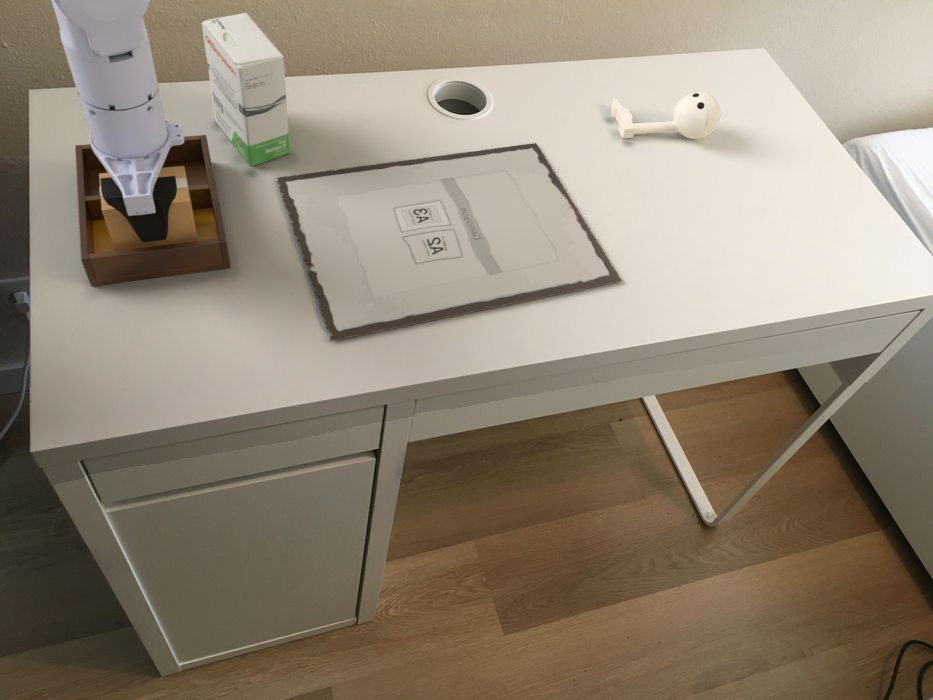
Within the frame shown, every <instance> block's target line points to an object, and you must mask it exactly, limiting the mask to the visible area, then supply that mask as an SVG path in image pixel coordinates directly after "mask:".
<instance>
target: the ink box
mask: <svg viewBox="0 0 933 700" xmlns="http://www.w3.org/2000/svg"><path fill="white" fill-rule="evenodd" d="M201 29H202V35H203V43H204V50H205V56H206V63H207V69H208V78H209V84H210V92H211V98H212V99H211V100H212V107H213V113H214V119H215V120H214V121H215V123H216V124H217V125H218V126H219V128H220V129H221V130H222V131H223V133H224V134H225V135H226V137H227V138H228V139H229V141H230V142H231V143H232V145H234V147H235V148H236V149H237V150H238V152H239V153H240V155H241V156H242V157H243V158H244V160H245V161H246V163H248V165H249V166H252V167H253V166H257V165H259V164H262V163H266V162H269V161H272V160H274V159H277V158H280V157H283V156H285V155H288V154H290V153H291V150H290V149H291V148H290V147H291V146H290V138H289V137H290V136H289V135H290V133H289V119H288V106H287V89H286V85H287V84H286V72H285V71H286V70H285V58H284V56H283V54H282V53H281V51H279V49H278V48H277V47H276V46H275V45H274V43H272V41H271V40H270V38H269V37H267V36H266V34H265V33H264V32H263V30H262V29H261V28H260V27H259V26H258V25H257V23H256V22H255V21H254V20H253V19H252V18H251V17H250V16H249V13H248V12H243V13H237V14H232V15H227V16H221V17H215V18H210V19H207V20H204V21H202V22H201Z"/></svg>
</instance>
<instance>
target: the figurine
mask: <svg viewBox="0 0 933 700" xmlns="http://www.w3.org/2000/svg"><path fill="white" fill-rule="evenodd" d="M610 113H611V118H613V119H615V121H616V123H617V124H618V128H617V131H618V133H619V135H620V138H621V139H633V138H634V135H644V134H657V133H667V132H669V133H670V132H678V133H679V134H680V135H682V136H683V137H684V138H687V139H691V140H699V139H703V138H706V137H708V136H709V135H711V134H712V133H713V132H714V131H715V130H716V128H717V127H718V125H719V123H720V120H721V113H722V112H721V106H720V104H719V102H718V101H717V99H716V98H715V96H713V95H711V94H710V93H708V92H703V91H694V92H691V93H689V94H686V95H685V96H683V97H681V99H679V101H678V102H677V104H676V105H675V107H674V110H673V115H672V121H654V122H652V121H651V122H637V123H634V122H633V117H634V116H633V114H632V113H631V111H630V109H629V108H626V107H624V106H622V104H621V102H620V101H619V100H618V98H617V97H613V99H612V103H611V107H610Z"/></svg>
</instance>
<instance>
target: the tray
mask: <svg viewBox="0 0 933 700" xmlns="http://www.w3.org/2000/svg"><path fill="white" fill-rule="evenodd" d="M207 137H208V136H207V134H200V135H187V136H186V135H184V143H183V144H182V145H176V146H172V147H171V148H170V149H169V152H168V154H167V157H166V159H165V161H164V164H163V166H162V168H166V167H177V166H184V168H185V173H186V178H187V183H188V188H189V194H190V199H191V204H192V209H193V215H194V221H195V227H196V233H197V240H198V241H193V242H185V243H176V244H168V245H160V246H151V247H143V248H135V249H126V250H118V251H115V249H114V246H113V243H112V240H111V237H110V234H109V231H108V228H107V225H106V222H105V219H104V215H103V212H102V206H101V196H100V179H99V174H100V173H108V172H107V170H106V169H105V167H104V166H103V165H102V163H101V162H100V160H99V159H98V158H97V156H96V155H95V153H94V152H93V150H92V147H91V144H90V143H88V144H76V145H75V146H74V149H75V150H74V151H75V168H76V187H77V208H78V225H79V246H80V247H79V248H80V261H81V263H82V267H83V269H84V272H85V275H86V276H87V279H88V282H89V285H90V286H91V287H97V286H104V285H112V284H120V283H127V282H135V281H142V280H150V279H158V278H165V277H167V278H168V277H174V276H181V275H188V274H195V273H203V272H204V273H205V272H211V271H212V272H213V271H218V270H220V271H221V270H227V269H231V268H232V266H231V260H230V259H231V258H230V254H229V253H230V252H229V247H228V241H227V235H226V230H225V225H224V220H223V215H222V211H221V205H220V199H219V195H218V189H217V184H216V179H215V174H214V169H213V164H212V158H211V153H210V147H209V142H208V138H207Z"/></svg>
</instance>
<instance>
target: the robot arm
mask: <svg viewBox="0 0 933 700" xmlns="http://www.w3.org/2000/svg"><path fill="white" fill-rule="evenodd" d="M150 2H151V0H51V4H52V7H53V10H54V13H55V17H56V20H57V23H58V24H57V25H58V26H59V35H60V40H61V43H62V47H63V50H64V53H65V56H66V59H67V63H68V66H69V70H70V72H71V73H70V74H71V76H72V79H73V83H74V85H75V86H74V87H75V89H76V91H77V96H78V99H79V102H80V105H81V106H80V107H81V108H82V111H83V115H84V118H85V121H86V124H87V128H88V131H89V136H88V140H89V144H91V147H92V150H93V152H94V153H95V155H96V156H97V158H98V159H99V160H100V162H101V163H102V165H103V166H104V167H105V169H106V170H107V172H108V173H109V174H110V176H111V177H109V178H101V179H100V180H101V192H102V195H103V198H104V200H105V201H106V203H107V204H108V205H110V206H111V207H113V208H115V209H116V210H118V211H119V212H120V213H121V214H122V215H123V216H124V217H125V218H126V219H127V220H128V222H129V223H130V225H131V226H132V228H133V230H134V231H135V233H136V234H137V236H138V237H139V238H140V239H141V241H142V242H150V241H158V240H165V239H166V238H167V233H168V213H169V208H170V206H171V203H172V202H173V200H174V199H175V197H176V193H177V184H176V177H175V176H167V177H158V176H159V173H160V171H161V169H162V166H163V164H164V161H165V159H166V157H167V154H168V152H169V149H170V148H171V147H172V146H176V145H182V144H183V143H184V137H185V135H184V130H183V125H182V124H180V123H178V122H173V123H171V122H170V123H169V122H167V120H166V117H165V111H164V107H163V102H162V98H161V93H160V87H159V83H158V78H157V73H156V69H155V63H154V59H153V53H152V49H151V44H150V39H149V34H148V30H147V27H146V25H145V19H144V16H145V13H146V12H147V10H148V8H149V6H150Z"/></svg>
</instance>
